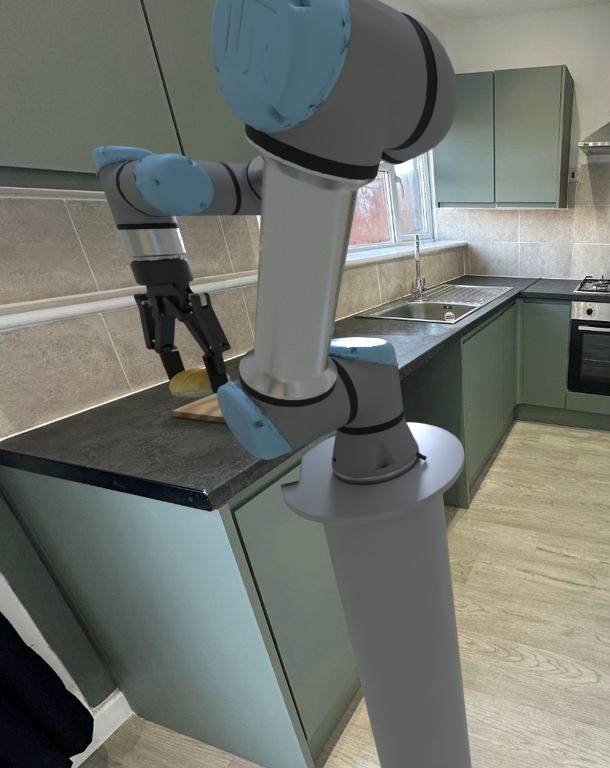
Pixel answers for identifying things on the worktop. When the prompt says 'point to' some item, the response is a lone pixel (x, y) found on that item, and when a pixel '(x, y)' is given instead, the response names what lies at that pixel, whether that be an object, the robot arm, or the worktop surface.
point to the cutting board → (202, 410)
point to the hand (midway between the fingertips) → (201, 388)
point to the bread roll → (191, 383)
